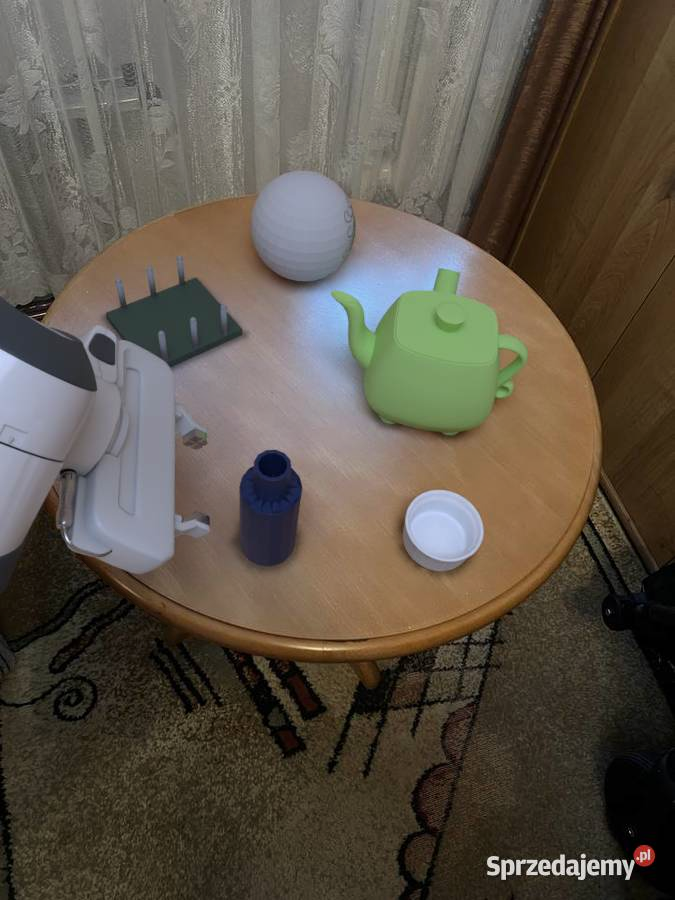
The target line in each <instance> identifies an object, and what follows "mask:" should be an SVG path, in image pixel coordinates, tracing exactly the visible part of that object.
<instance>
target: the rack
mask: <svg viewBox="0 0 675 900" xmlns="http://www.w3.org/2000/svg"><path fill="white" fill-rule="evenodd" d="M176 263H177V274H178V275H177V276H178V284H175V285H172V286H170V287H168V288H166V289H162V290H160V291H158V292H157V288H156V281H155V275H154V274H155V273H154V268H153V267H152V266H149V265H148V266H147V267H146V275H147V281H148V286H149V293H150V295H148V296H145V297H143V298H142V297H141V298H140V299H138V300H135V301H133V302H130V303H127V301H126V295H125V289H124V285H123V280H122V278H120V277H117V278H115V279H114V280H115V286H116V287H115V288H116V292H117V297H118V301H119V305H120V307H118V308H117V307H116V308H115V309H112V310H110V311H107V312H105V317H106V320H107V321H108V323H109V324H110V325H111V327H112V328H113V330H114V331H115V332H116V333H117V334H118V336H119V338H121V340H126V341H129V342H132V343H134V344H136V345H138V346H140V347H141V348H143V349H145V350H147V351H149V352H151V353H152V354H154V355H156V356H157V357H159V358H161V359H162V360H164V361H165V362H166V363H167V364H168V365H169V367H170V368H172V367H174V366H176V365H178V364H181V363H183V362H185V361H187V360H190V359H192V358H194V357H196V356H198V355H200V354H201V355H202V354H203V353H205V352H208V351H209V350H211V349H214V348H216V347H218V346H221V345H223V344H224V343H227V342H230V341H232V340H235V339H236V338H238V337H240V336H242V335H243V328H242V327H241V326H240V325H239V324H238V323H237V322H236V320H235V319H234V318H233V317H232V316H231V315H230V314H229V312H228V308H227V307H228V306H227V305H226V304H225V303H223V304H220V303H219V301H218V300H217V299H216V298H215V297H214V296H213V294H212V293H211V292H210V291H209V290H208V289H207V288H206V287H205V285H203V284H202V282H201V281H200V280H199V279H198V277H193V278H191V279H189V280H188V279H187V280H186V279H185V278H186V277H185V268H184V258H183V256H182V255H181V254H179V255H177V256H176Z"/></svg>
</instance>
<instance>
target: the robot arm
mask: <svg viewBox="0 0 675 900" xmlns="http://www.w3.org/2000/svg"><path fill="white" fill-rule="evenodd" d="M176 433H178V435H179V436H181V438H182V445H184V446H186V447H190V448H191V449H193V450H200V449H202V448H203V447H205V446H207V445H208V429H207V428H205V427H204V426H202V425H199V424H198V423H196V421H195V420H194V419H193V418H192V416H191V415H190V414H189V413H188V412H187V410H186V409H185V407H184V406H183V405H181V404H180V403H177V402H176V373H175V372H174V370H173V369H172V367H169V365H168V364H167V363H166V362H165V361H164V360H162V359H161V358H159V357H157V356H156V355H154V354H152V353H151V352H149V351H147V350H145V349H143V348H141V347H140V346H138V345H136V344H134V343H132V342H129V341H126V340H123V339H118V338H117V335H116V334H115V333H114V332H113V331H112V330H110V329H109V328H107V327H105V326H103V325H101V324H97V325H94V326H93V327H92V328H90V329H89V330H88V331H86V332H85V333H83V334H82V335H81V336H80V337H79V338H78V337H77V336H75V335H74V334H71V333H69V332H66V331H64V330H61V329H58V328H55V327H52V326H48V325H47V324H44V323H42V322H41V321H39V320H37V319H35V318H34V317H31V316H30V315H27V314H26V313H24V312H22V311H21V310H19V309H18V308H16V307H15V306H14V305H13V304H11V303H9V301H7V300H5V299H4V297H2V296H1V295H0V595H1V594H3V593H4V591H6V589H7V588H8V585H9V583H10V581H11V578H12V576H13V573H14V571H15V568H16V565H17V564H18V562H19V559H20V556H21V555H22V552H23V550H24V547H25V545H26V541H27V539H28V538H27V537H28V533H29V531H30V529H31V527H32V525H33V523H34V521H35V520H36V518H37V515H38V514H39V512H40V510H41V508H42V506H43V504H44V502H45V500H46V499H47V496H48V494H49V493H50V491H51V489H52V487H53V485H54V483H55V481H57V482H59V488H58V509H57V510H56V513H55V526H56V528H57V530H60V533H61V537H62V539H63V541H64V542H65V544H66V546H67V548H68V549H69V550H70V551H72V552H74V553H77V554H80V555H82V556H83V555H84V556H87V557H89V558H94V559H97V560H99V561H101V562H104V563H105V564H107V565H110V566H112V567H115V568H118V569H120V570H123V571H125V572H128V573H132V574H134V575H145V574H147V573H150V572H152V571H154V570H157V569H158V568H159V567H161V566H163V565H164V564H165V563H167V562H168V561H170V560H172V558H173V557H174V555H175V538H177V537H181V536H183V535H184V536H185V535H186V536H189V537H192V538H193V539H201V538H203V537H206V536H207V535H209V534H210V533H211V518H210V515H208V514H204V513H203V512H200V511H197V510H195V511H194V512H192V513H191V514H190V515H187V516H185V517H184V518H183V516H182V515H180V514H177V513H176V511H175V509H176V508H175V507H176V505H175V504H176V503H175V502H176V501H175V500H176V498H175V495H176V494H175V493H176V486H175V485H176Z"/></svg>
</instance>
